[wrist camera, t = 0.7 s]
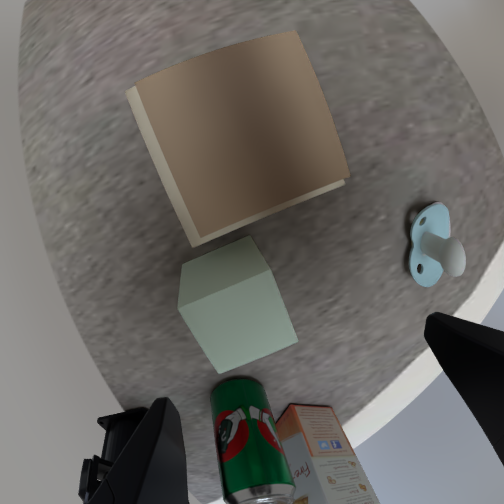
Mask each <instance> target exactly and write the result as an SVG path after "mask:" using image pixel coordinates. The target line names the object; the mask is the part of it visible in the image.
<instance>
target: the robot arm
mask: <svg viewBox="0 0 504 504" xmlns="http://www.w3.org/2000/svg"><path fill="white" fill-rule="evenodd" d="M424 337H425V340H426V341H427V343H428V345H429V347H430V348H431V350H432V352H433V353H434V355H435V357H436V359H437V360H438V362H439V364H440V366H441V367H442V369H443V371H444V372H445V374H446V375H447V376H448V378H449V379H450V381H451V382H452V384H453V385H454V386H455V388H456V389H457V391H458V392H459V394H460V395H461V397H462V398H463V400H464V401H465V403H466V404H467V406H468V407H469V409H470V410H471V412H472V413H473V415H474V417H475V418H476V420H477V421H478V423H479V425H480V426H481V428H482V429H483V431H484V432H485V434H486V436H487V438H488V439H489V441H490V443H491V444H492V446H493V448H494V450H495V452H496V453H497V455H498V457H499V459H500V460H501V462H502V464H503V466H504V332H503V331H500V330H496V329H493V328H490V327H487V326H483V325H480V324H477V323H473V322H470V321H467V320H463V319H460V318H457V317H453V316H450V315H447V314H443V313H440V312H434V313H432V314H430V315H429V316H428V317H427V319H426V324H425V330H424ZM97 423H98V424H99V425H100V426H101V427H103V428H104V429H105V430H106V434H105V440H104V445H103V450H102V456H101V458H99V456H96V455H94V456H93V458H92V459H84V461H83V466H82V471H81V477H80V485H79V493H78V495H79V496H80V498H81V499H82V501H83V504H189V500H188V488H187V469H186V454H185V448H184V441H183V435H182V428H181V421H180V415H179V412H178V411H177V409H176V408H175V406H174V404H173V403H172V401H171V400H170V399H169V398H168V397H163V398H157V399H156V400H155V401H154V402H153V404H152V405H151V407H150V408H149V410H147V409H145V408H138V409H134V410H130V411H126V412H122V413H117V414H113V415H109V416H104V417H99V418H98V420H97ZM97 479H98V480H97ZM99 480H101V481H99Z"/></svg>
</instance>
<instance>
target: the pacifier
mask: <svg viewBox="0 0 504 504" xmlns="http://www.w3.org/2000/svg"><path fill="white" fill-rule="evenodd" d="M422 218H423V219H422ZM410 236H411V240H412V248H411V251H410V255H409V269H410V273H411V275H412V277H413V279H414V280H415V281H416V282H417V283H418V284H419V285H421V286H423V287H430V286H432V285H434V284H435V283H436V282H437V281H438V280H439V278H440V276H441V275H442V273H443V270H444V271H445V272H446V273H447V274H449V275H451V276H455V277H456V276H460V275H461V274H462V273H463V271H464V269H465V265H466V257H465V252H464V249H463V246H462V244H461V243H460V241H459V240H458V239H457V238H455V237H450V219H449V212H448V209H447V208H446V207H445V206H444V205H443V204H442V203H441V202H435V203H433V204H431V205H430V206H427V207H426V208H425V209H423V210H422V211H421V212H420V213H419V214H418V215H417V216H416V218H415V219H414V221H413V223H412V226H411V230H410ZM418 264H421V271H420V273H418V272H417V266H418Z"/></svg>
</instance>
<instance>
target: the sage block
mask: <svg viewBox="0 0 504 504" xmlns="http://www.w3.org/2000/svg"><path fill="white" fill-rule="evenodd" d="M177 309H178V311H179V312H180V314H181V316H182V317H183V319H184V321H185V322H186V324H187V326H188V327H189V329H190V330H191V332H192V334H193V335H194V337H195V338H196V340H197V342H198V343H199V345H200V346H201V348H202V349H203V351H204V353H205V354H206V356H207V357H208V359H209V360H210V362H211V363H212V365H213V366H214V368H215V369H216V371H217V372H218V374H220V373H223V372H226V371H228V370H231V369H234V368H236V367H239V366H242V365H244V364H247V363H249V362H252V361H254V360H257V359H259V358H262V357H264V356H267V355H269V354H271V353H274V352H276V351H279V350H281V349H283V348H286V347H288V346H290V345H292V344H295V343H297V342H299V341H298V339H297V336H296V333H295V331H294V328H293V326H292V323H291V320H290V318H289V315H288V313H287V310H286V307H285V305H284V302H283V300H282V297H281V294H280V292H279V289H278V287H277V284H276V282H275V279H274V276H273V274H272V271H271V269H270V267H269V266H268V264H267V262H266V261H265V259H264V257H263V256H262V254H261V253H260V251H259V249H258V248H257V246H256V244H255V243H254V241H253V240H252V238H251V236H250V235H249V236H246V237H244V238H242V239H239V240H237V241H235V242H232V243H230V244H228V245H225V246H223V247H221V248H218V249H216V250H214V251H211V252H209V253H207V254H204V255H202V256H200V257H197V258H195V259H193V260H191V261H188V262H186V263H184V264H182V270H181V278H180V287H179V296H178V306H177Z"/></svg>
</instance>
